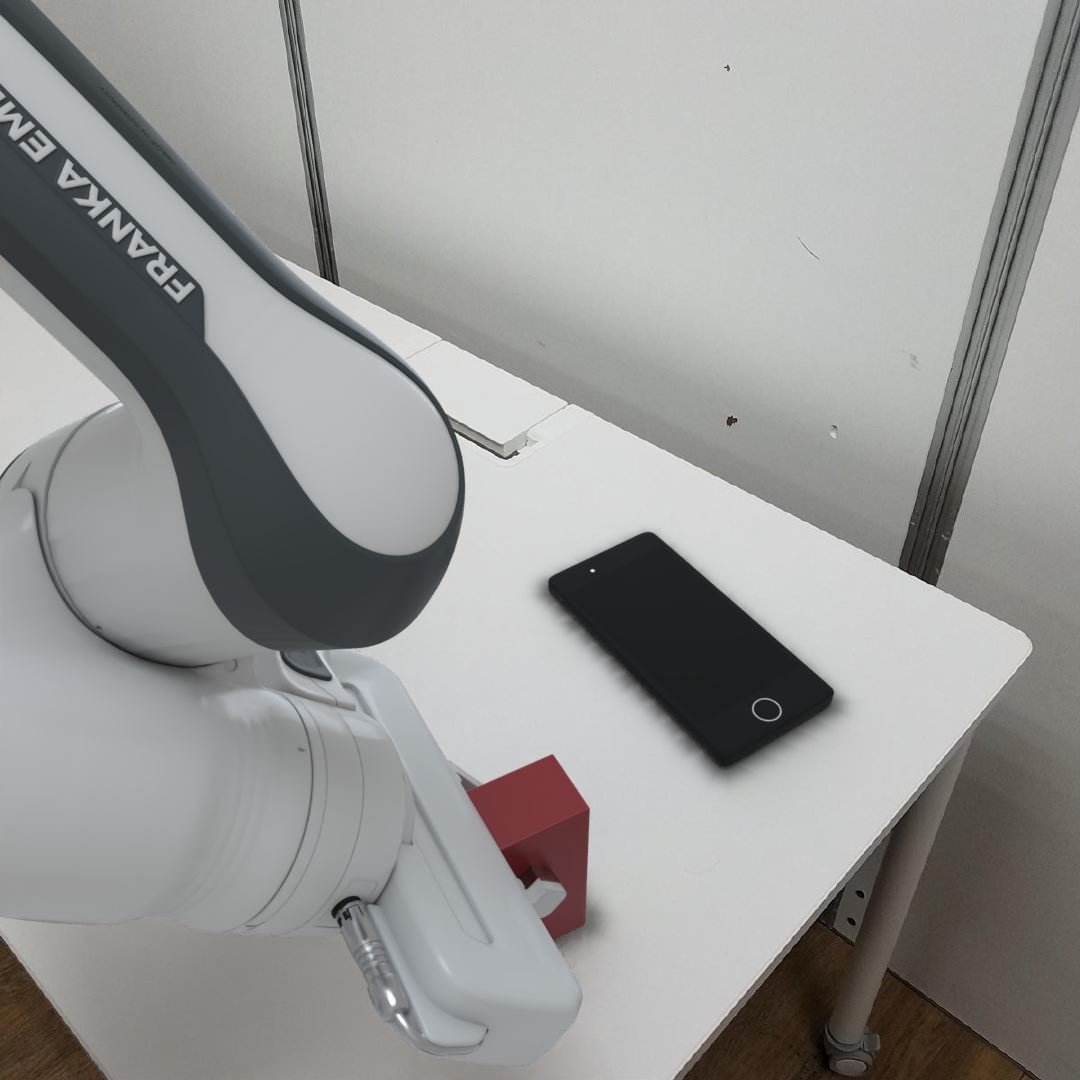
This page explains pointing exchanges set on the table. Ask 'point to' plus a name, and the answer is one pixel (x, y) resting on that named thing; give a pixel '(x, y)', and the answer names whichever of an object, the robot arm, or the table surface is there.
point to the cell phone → (691, 646)
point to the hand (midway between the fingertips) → (525, 851)
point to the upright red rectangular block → (541, 831)
